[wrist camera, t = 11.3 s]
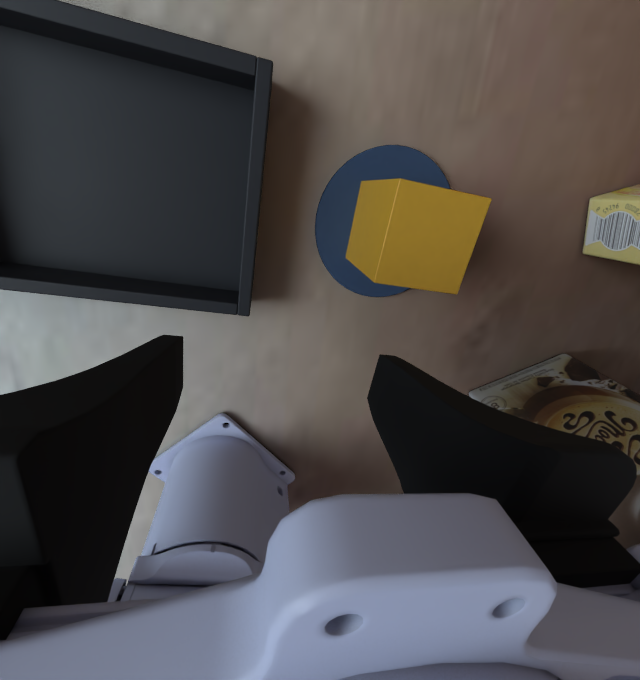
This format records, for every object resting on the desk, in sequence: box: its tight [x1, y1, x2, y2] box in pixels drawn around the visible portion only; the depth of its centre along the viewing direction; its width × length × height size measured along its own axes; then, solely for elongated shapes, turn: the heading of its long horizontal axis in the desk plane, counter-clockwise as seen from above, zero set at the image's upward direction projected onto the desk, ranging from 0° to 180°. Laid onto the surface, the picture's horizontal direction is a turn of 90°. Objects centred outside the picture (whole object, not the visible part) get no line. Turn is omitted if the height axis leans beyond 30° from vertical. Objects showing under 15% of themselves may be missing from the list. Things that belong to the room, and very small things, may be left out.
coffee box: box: [469, 354, 640, 549], centre depth 21 cm, size 9×6×16 cm
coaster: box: [315, 145, 450, 297], centre depth 20 cm, size 9×9×1 cm
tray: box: [0, 0, 273, 316], centre depth 16 cm, size 15×12×3 cm
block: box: [346, 178, 492, 294], centre depth 17 cm, size 4×4×6 cm
